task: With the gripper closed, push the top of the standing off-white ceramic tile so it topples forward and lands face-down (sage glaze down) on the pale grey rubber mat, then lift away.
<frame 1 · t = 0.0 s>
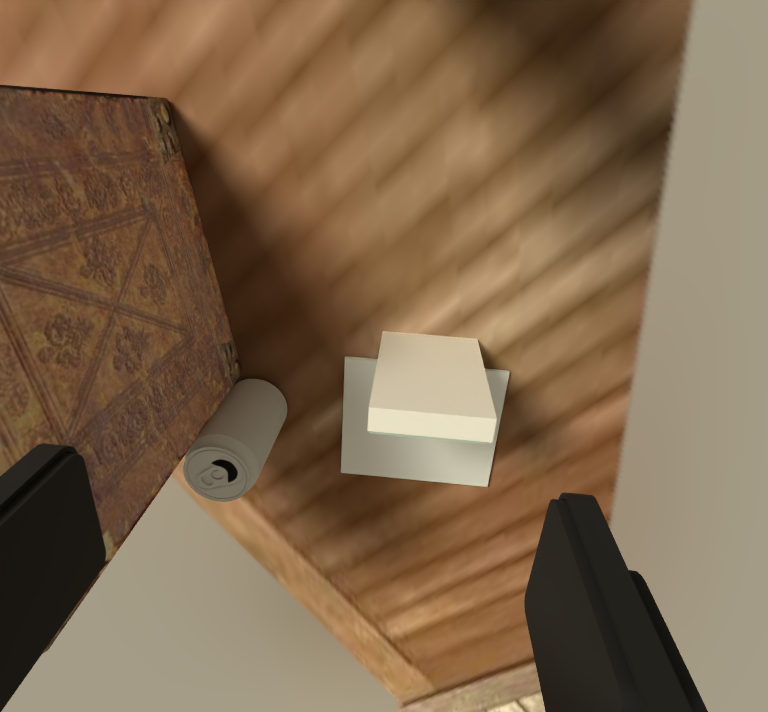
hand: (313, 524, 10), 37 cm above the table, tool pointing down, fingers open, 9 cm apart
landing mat: (419, 423, 52), on the table
beverage can: (259, 401, 53), on the table
glazed tile: (428, 344, 48), on the table
book: (163, 256, 47), on the table
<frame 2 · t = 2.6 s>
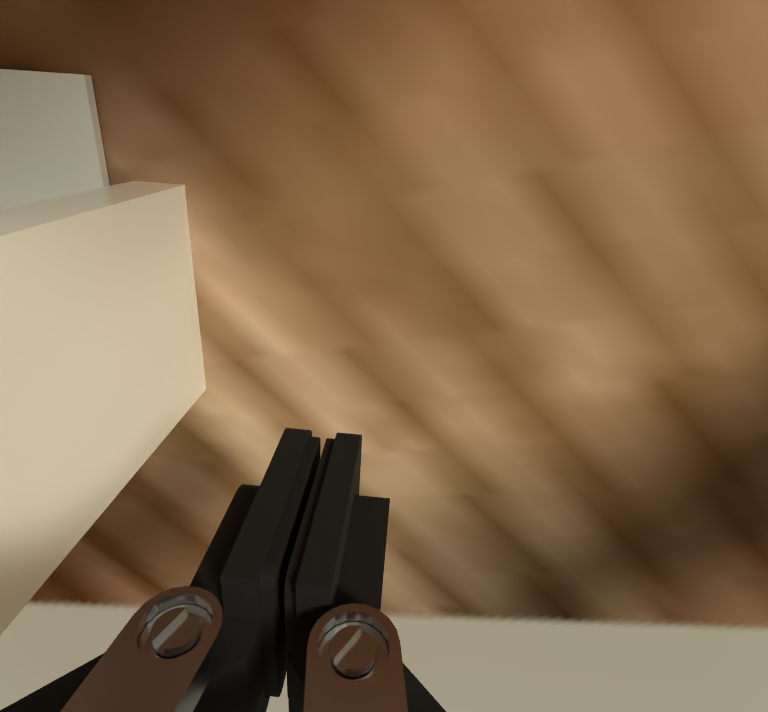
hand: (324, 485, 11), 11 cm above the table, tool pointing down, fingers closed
glazed tile: (173, 294, 21), on the table
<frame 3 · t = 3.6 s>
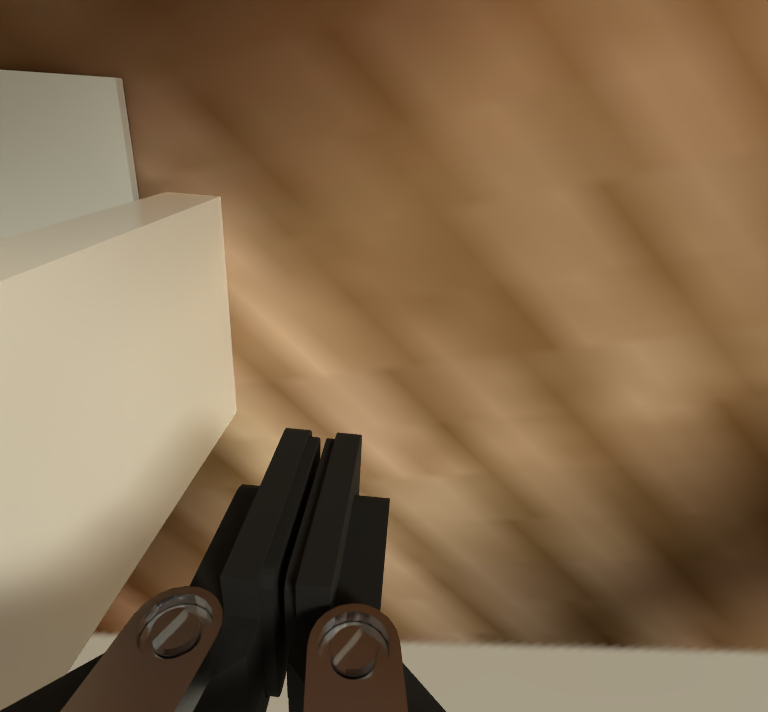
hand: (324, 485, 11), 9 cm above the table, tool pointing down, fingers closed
glazed tile: (204, 312, 20), on the table
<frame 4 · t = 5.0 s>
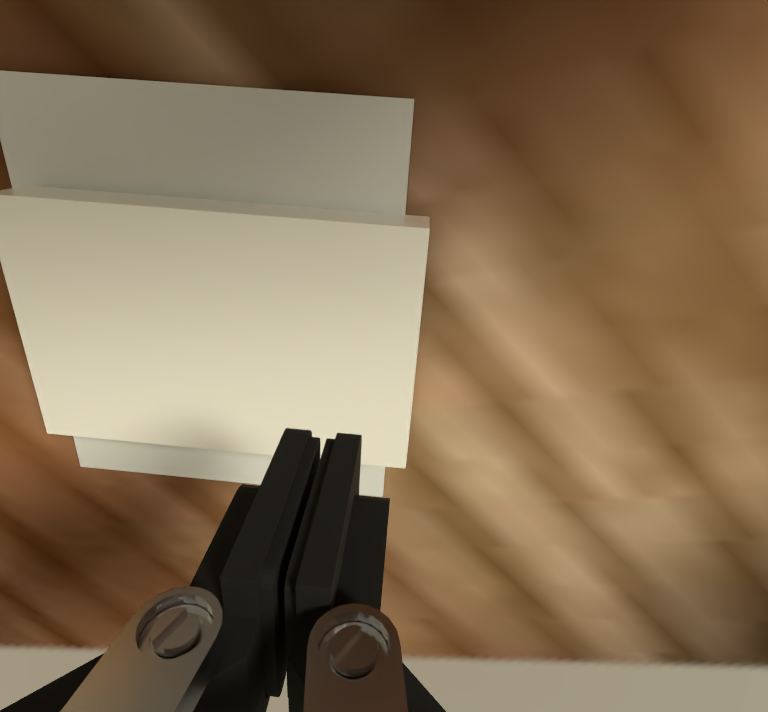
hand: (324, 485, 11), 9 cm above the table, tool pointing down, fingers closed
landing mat: (219, 314, 20), on the table
glazed tile: (416, 349, 18), point 2 cm above the table, tilted 90°, touching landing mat
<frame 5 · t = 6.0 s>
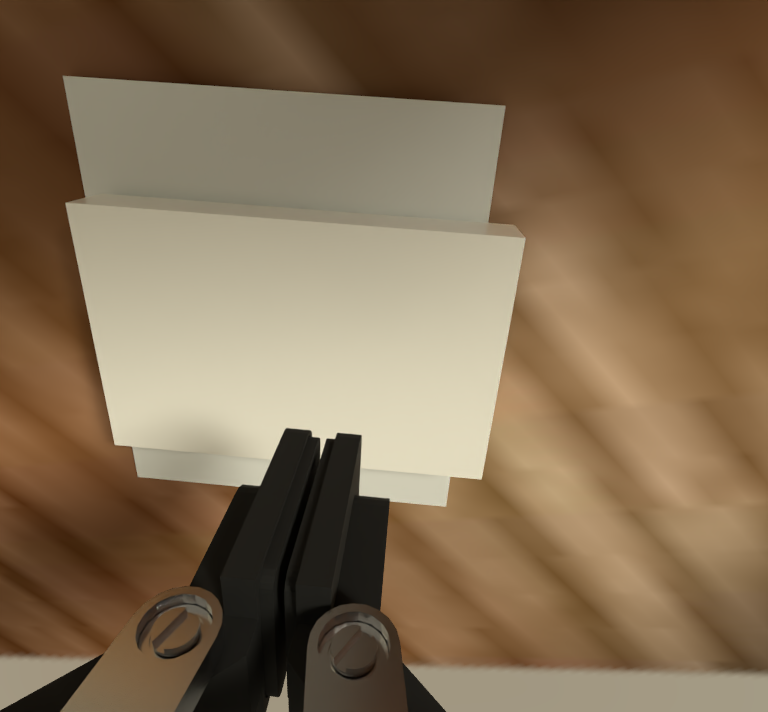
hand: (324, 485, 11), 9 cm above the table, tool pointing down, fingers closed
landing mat: (288, 323, 20), on the table
glazed tile: (497, 359, 18), point 2 cm above the table, tilted 90°, touching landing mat
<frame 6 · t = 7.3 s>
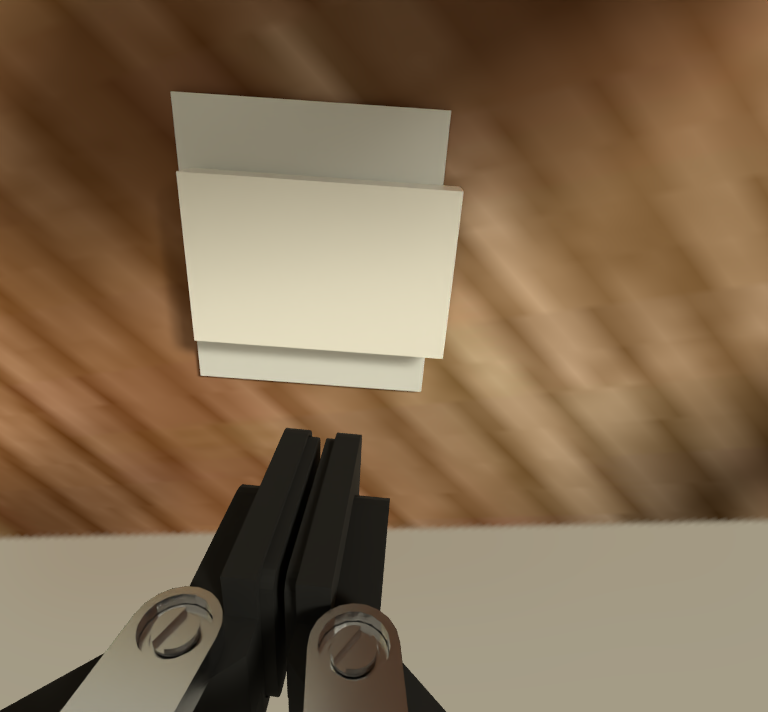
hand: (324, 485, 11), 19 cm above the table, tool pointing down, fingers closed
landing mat: (311, 257, 29), on the table
glazed tile: (450, 275, 27), point 2 cm above the table, tilted 90°, touching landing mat
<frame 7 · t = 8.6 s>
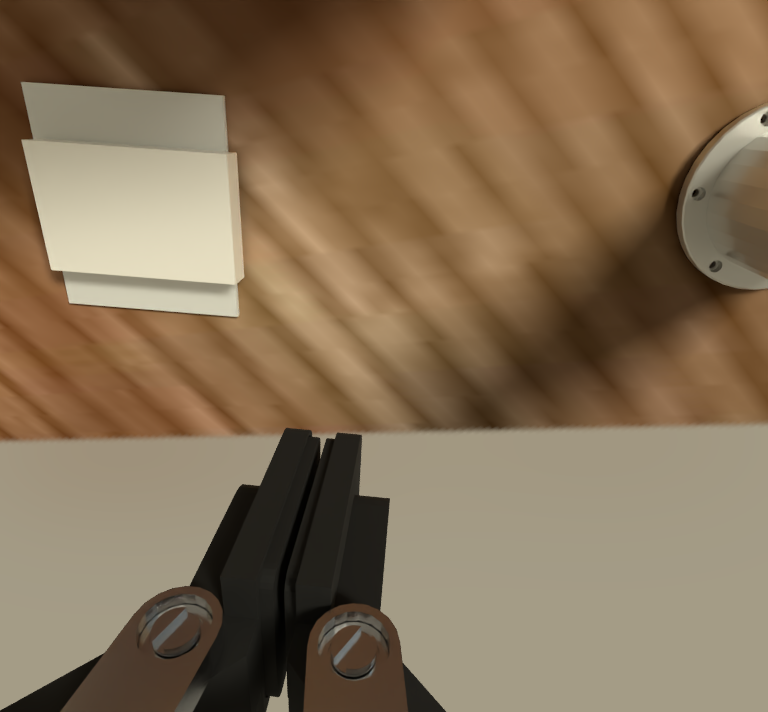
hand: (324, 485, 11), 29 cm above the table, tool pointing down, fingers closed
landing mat: (141, 208, 38), on the table
glazed tile: (236, 220, 36), point 2 cm above the table, tilted 90°, touching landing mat
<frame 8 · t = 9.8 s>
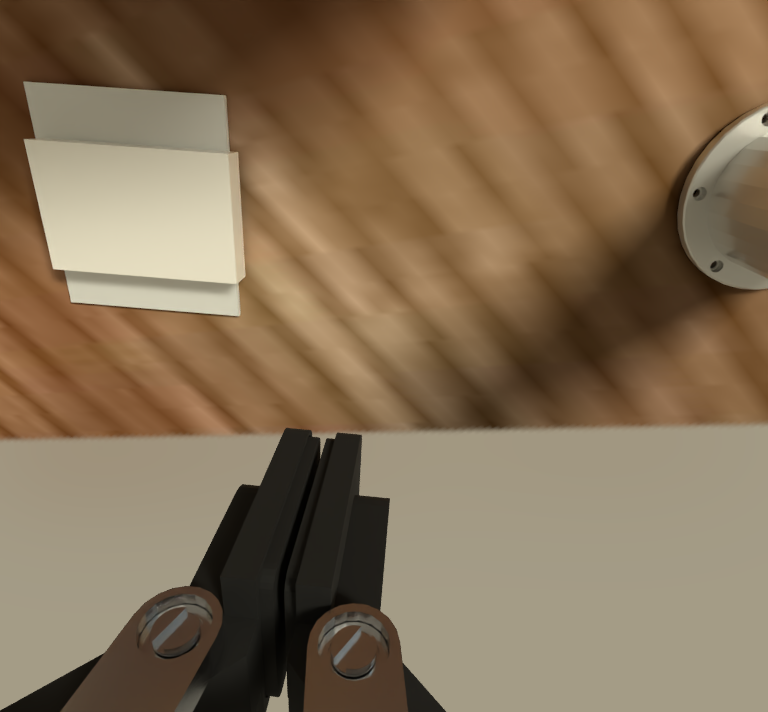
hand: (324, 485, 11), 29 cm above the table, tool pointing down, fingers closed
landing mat: (142, 207, 38), on the table
glazed tile: (237, 219, 36), point 2 cm above the table, tilted 90°, touching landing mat
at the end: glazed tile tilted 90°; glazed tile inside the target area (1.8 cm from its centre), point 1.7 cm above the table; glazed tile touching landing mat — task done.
